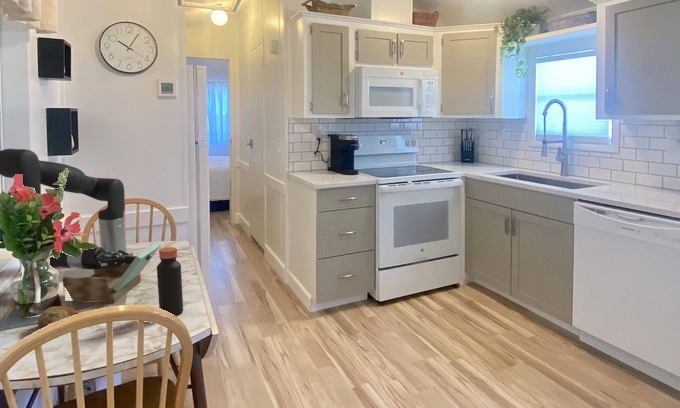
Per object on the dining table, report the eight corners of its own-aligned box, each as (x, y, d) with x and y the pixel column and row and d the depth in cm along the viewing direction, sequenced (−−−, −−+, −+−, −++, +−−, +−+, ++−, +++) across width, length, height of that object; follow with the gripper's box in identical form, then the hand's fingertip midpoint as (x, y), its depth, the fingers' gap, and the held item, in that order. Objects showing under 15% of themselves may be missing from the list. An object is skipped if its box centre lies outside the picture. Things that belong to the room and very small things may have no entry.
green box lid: (112, 288, 150) (136, 256, 147) (135, 272, 165) (157, 242, 163) (119, 293, 150) (143, 260, 148) (141, 276, 166) (163, 246, 163)
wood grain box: (64, 301, 149) (62, 277, 148) (96, 280, 168) (94, 259, 166) (114, 302, 149) (112, 278, 147) (140, 281, 168) (139, 260, 166)
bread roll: (42, 336, 134) (25, 316, 130) (76, 313, 139) (61, 293, 136) (51, 349, 127) (34, 328, 123) (87, 323, 132) (71, 303, 129)
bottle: (157, 311, 143) (153, 248, 139) (179, 306, 147) (176, 245, 143) (162, 319, 138) (158, 254, 134) (186, 314, 141) (182, 250, 138)
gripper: (73, 252, 149) (127, 255, 149) (96, 241, 162) (145, 243, 162) (75, 275, 151) (128, 277, 150) (97, 262, 164) (146, 264, 163)
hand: (137, 260), depth 156 cm, fingers closed
